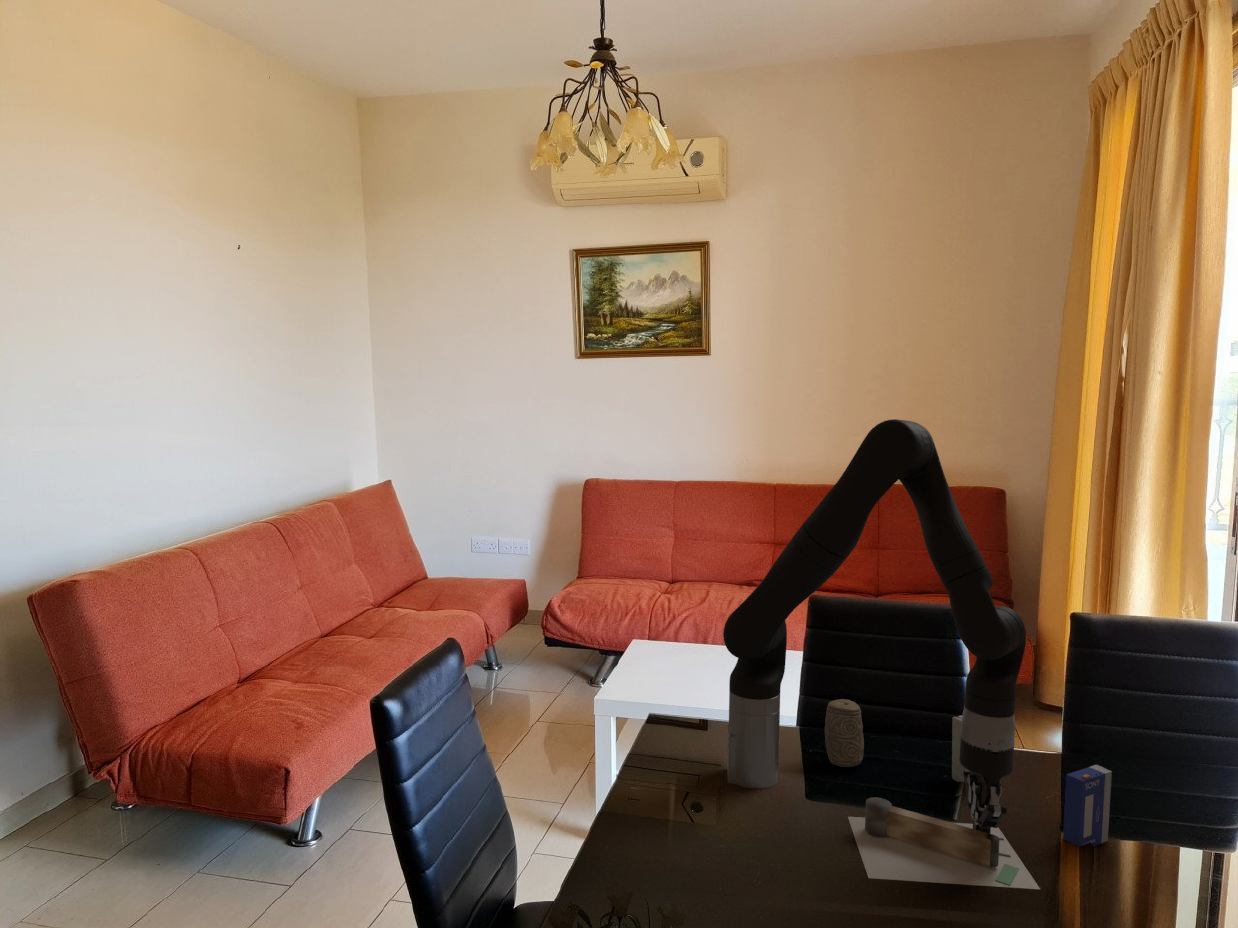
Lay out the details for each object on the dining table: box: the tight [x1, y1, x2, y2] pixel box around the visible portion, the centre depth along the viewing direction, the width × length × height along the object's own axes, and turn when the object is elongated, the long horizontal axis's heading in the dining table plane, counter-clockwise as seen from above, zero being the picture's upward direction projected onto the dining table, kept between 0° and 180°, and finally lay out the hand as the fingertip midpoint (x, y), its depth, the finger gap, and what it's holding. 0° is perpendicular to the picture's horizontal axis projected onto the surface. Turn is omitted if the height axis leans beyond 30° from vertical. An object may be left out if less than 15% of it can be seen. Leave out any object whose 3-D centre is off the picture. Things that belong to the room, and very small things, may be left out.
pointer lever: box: [864, 797, 999, 867], centre depth 130 cm, size 20×4×4 cm, turn 55°
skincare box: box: [951, 714, 967, 783], centre depth 154 cm, size 6×4×12 cm
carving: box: [824, 698, 865, 768], centre depth 162 cm, size 6×8×12 cm
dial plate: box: [847, 816, 1041, 891], centre depth 130 cm, size 24×18×1 cm
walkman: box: [1062, 764, 1113, 848], centre depth 134 cm, size 8×3×12 cm, turn 118°
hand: (980, 845), depth 130 cm, fingers closed
